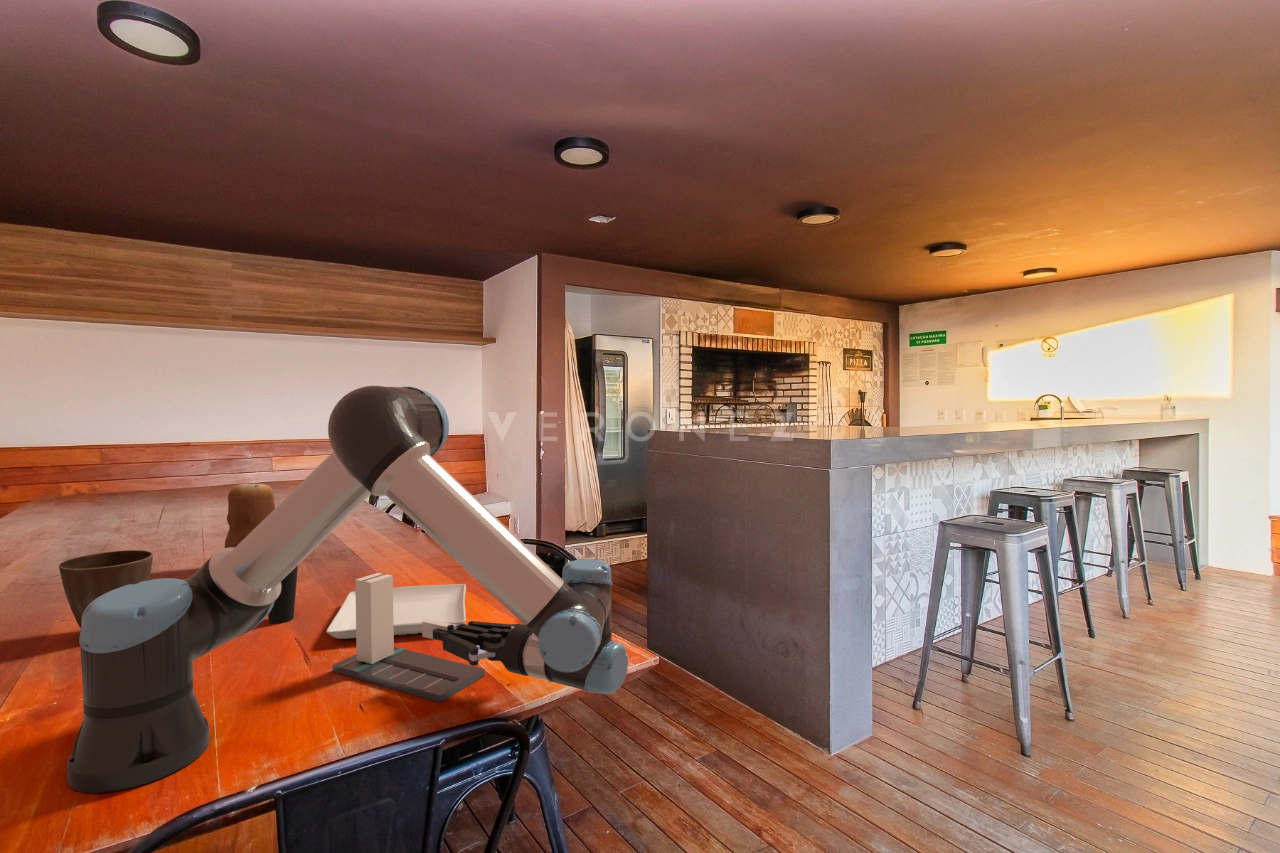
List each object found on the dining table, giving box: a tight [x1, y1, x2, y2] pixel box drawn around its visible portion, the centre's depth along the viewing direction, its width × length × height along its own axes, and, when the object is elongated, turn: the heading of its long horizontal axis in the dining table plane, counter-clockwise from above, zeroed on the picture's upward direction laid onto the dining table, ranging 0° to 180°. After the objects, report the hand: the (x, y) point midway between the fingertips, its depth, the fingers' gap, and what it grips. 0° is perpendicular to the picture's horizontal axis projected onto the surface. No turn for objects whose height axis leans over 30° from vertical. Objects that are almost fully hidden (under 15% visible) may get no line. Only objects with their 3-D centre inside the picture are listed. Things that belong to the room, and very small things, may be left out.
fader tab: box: [354, 572, 395, 664], centre depth 114 cm, size 4×5×15 cm
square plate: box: [325, 583, 467, 640], centre depth 138 cm, size 27×27×4 cm
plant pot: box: [58, 549, 154, 630], centre depth 128 cm, size 15×15×16 cm
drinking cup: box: [267, 564, 299, 624], centre depth 137 cm, size 8×8×20 cm
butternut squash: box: [224, 483, 276, 548], centre depth 179 cm, size 14×13×25 cm
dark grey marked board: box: [331, 646, 486, 704], centre depth 110 cm, size 26×11×1 cm, turn 64°
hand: (425, 627), depth 108 cm, fingers closed
